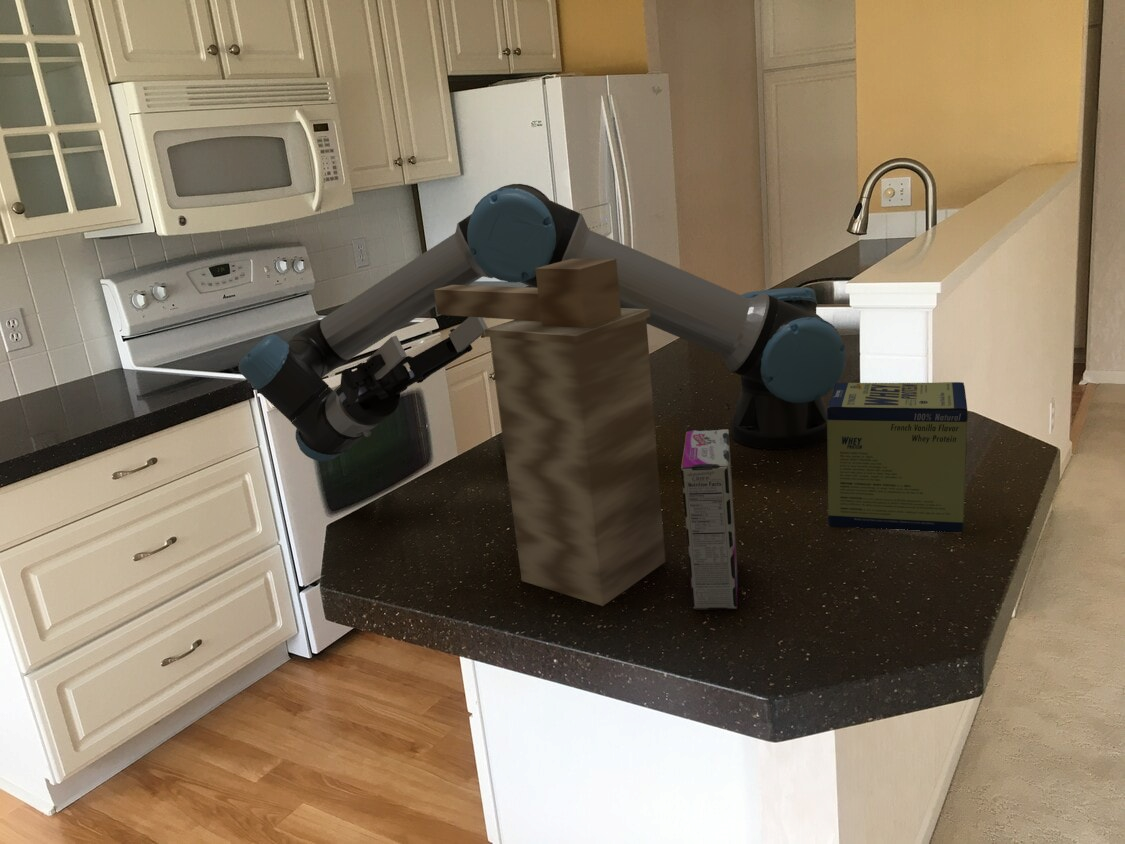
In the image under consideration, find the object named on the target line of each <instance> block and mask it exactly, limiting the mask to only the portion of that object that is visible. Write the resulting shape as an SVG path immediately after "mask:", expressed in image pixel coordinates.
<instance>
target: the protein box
mask: <svg viewBox="0 0 1125 844" xmlns="http://www.w3.org/2000/svg"><path fill="white" fill-rule="evenodd" d="M966 396H967V394H966V387H965V383H964V382H962V381H956V382H955V381H954V382H953V381H951V382H950V381H948V382H945V381H944V382H943V381H942V382H838V383H836V384H835V385H834V388H833V389H832V393H831V396H830V399H829V401H828V403H827V406H826V408H827V438H826V439H827V441H826V442H827V445H826V446H827V447H826V448H827V526H828V527H832V528H833V527H834V528H848V527H854V528H853V529H856V528H855V527H859V528H858V529H866V528H876V529H875V530H884V529H886V528H887V529H905V530H907V529H908V530H920V531H935V532H934V533H936V531H937V532H939V531H940V532H941V531H942V532H944V531H945V532H963V533H964V517H965V515H964V514H965V495H966V494H965V493H966V492H965V490H966V467H967V466H966V465H967V463H966V462H967V443H968V442H967V441H968V418H969V417H968V416H969V415H968V411H969V410H968V404H967V397H966ZM878 528H879V529H878ZM881 528H882V529H881Z"/></svg>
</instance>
